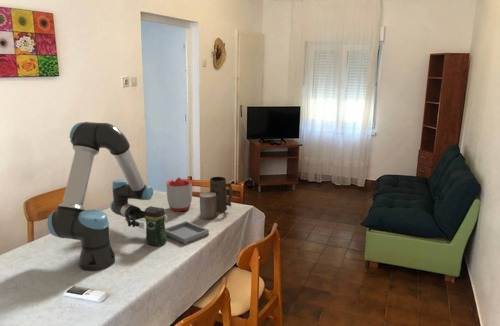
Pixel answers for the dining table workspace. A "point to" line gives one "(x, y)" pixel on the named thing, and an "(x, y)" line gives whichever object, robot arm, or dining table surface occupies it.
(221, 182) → the beer stein
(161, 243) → the coffee jar
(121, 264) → the dining table surface
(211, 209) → the pillar candle
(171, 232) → the tray
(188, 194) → the citrus juicer
